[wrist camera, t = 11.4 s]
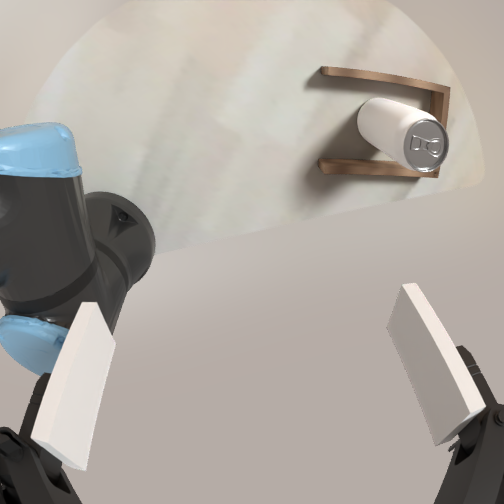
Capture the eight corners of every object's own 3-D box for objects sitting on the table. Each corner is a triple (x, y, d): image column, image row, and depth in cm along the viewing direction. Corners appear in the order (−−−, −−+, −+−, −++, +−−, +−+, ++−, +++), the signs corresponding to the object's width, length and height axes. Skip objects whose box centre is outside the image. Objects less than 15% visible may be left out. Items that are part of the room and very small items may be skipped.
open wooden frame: (318, 166, 39) (324, 173, 36) (321, 66, 31) (328, 66, 29) (427, 170, 39) (437, 178, 37) (437, 84, 32) (450, 87, 29)
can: (395, 147, 37) (444, 179, 27) (352, 141, 37) (394, 173, 27) (402, 101, 34) (457, 121, 24) (358, 93, 33) (405, 108, 23)
